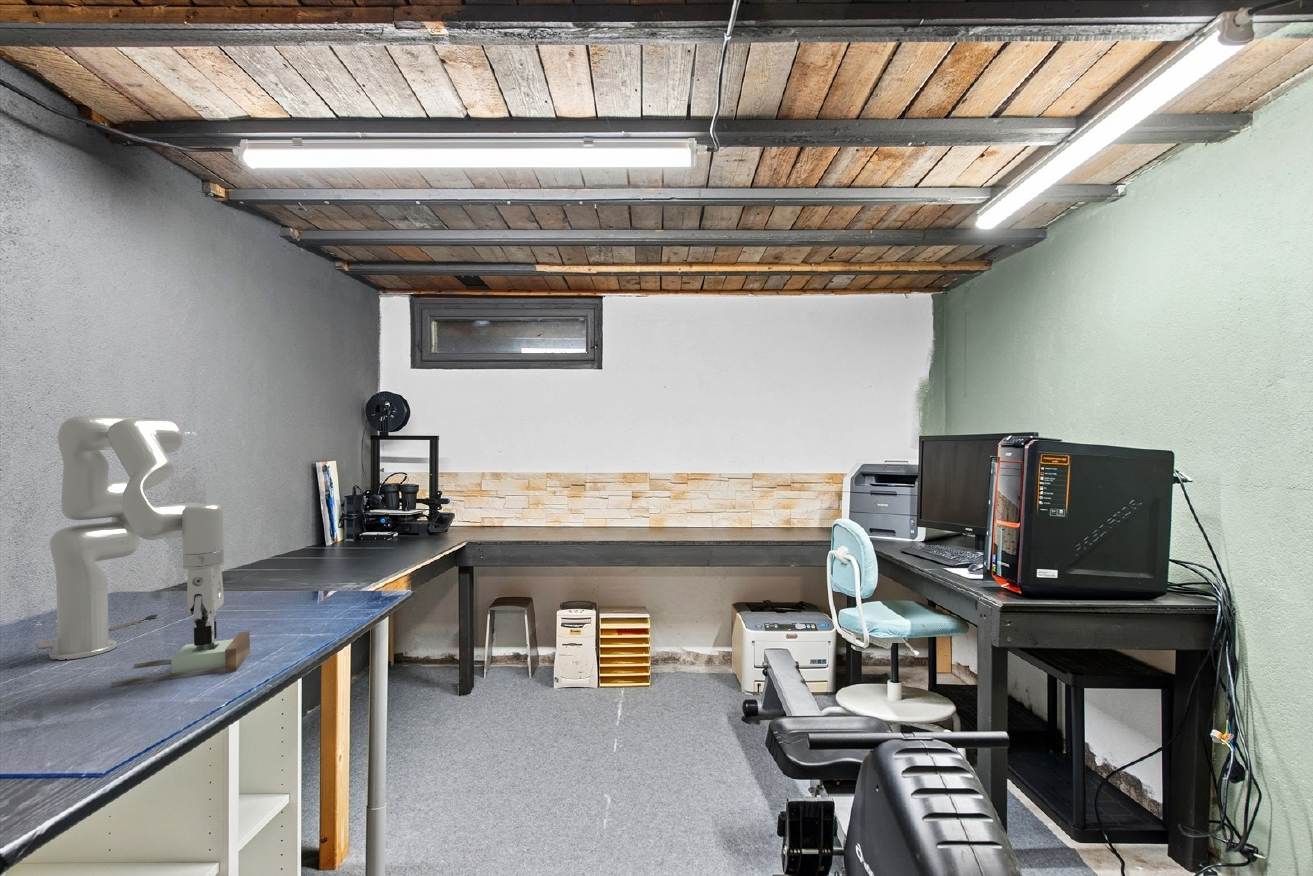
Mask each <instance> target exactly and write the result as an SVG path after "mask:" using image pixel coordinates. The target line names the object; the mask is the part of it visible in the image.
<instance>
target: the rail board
mask: <svg viewBox="0 0 1313 876" xmlns="http://www.w3.org/2000/svg"><path fill="white" fill-rule="evenodd" d="M233 639H234V640H233V641H232V642H231V643H230V644H229V646H228V647H227V648H226V649H225V667H218V668H210V669H203V670H195V671H187V672H179V673H172V672H171V673H166V674H164V673H163V674H158V675H150V676H143V677H142V676H141V677H135V678H127V679H119V680H112V681H111V688H113V687H121V686H129V685H136V684H143V683H144V684H145V683H152V682H161V681H169V680H175V679H181V678H182V679H183V678H190V677H197V676H205V675H212V674H219V673H221V674H222V673H233V672H237V671H238V670H239V668H240V667H241V665H242V664H243V663H244V661H245V660H246V659H247V657H248V656H249V655H250V653H251V642H250V631H241V632H239V633H238V634H237V635H236V636H235V638H233ZM169 664H171V665H172V657H171V658H164V659H163V658H162V659H154V660H148V661H138V662H134V667H133V668H134V669H137V668H144V667H146V668H147V667H152V666H153V667H154V666H162V665H169Z"/></svg>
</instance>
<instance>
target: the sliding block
mask: <svg viewBox="0 0 1313 876" xmlns="http://www.w3.org/2000/svg"><path fill="white" fill-rule="evenodd" d="M234 639H235V638H233V639H232V638H231V639H225V640H224V639H223V640H214V642H215V648H214V649H212V650H205V651H197V646H195V645H194V643H190V644H189V643H188V644H185V645H183V646H182V647H181V649H179V650H178V651H177V652H176V653H175V654H174V655H173V656H172V657H171V658H172V663H171V674H172V673H179V672H187V671H195V670H203V669H210V668H218V667H225V649H226V648H227V647H228V646H229V644H230V643H231V642H232V641H233V640H234Z"/></svg>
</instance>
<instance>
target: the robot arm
mask: <svg viewBox="0 0 1313 876" xmlns="http://www.w3.org/2000/svg"><path fill="white" fill-rule="evenodd" d="M183 440H184V439H183V432H182V430H181V429H180V427H179V425H178V424H176V423H175V422H174V421H172V420H171V419H167V418H166V419H165V418H156V417H147V416H135V415H134V416H132V415H130V416H129V415H106V414H105V415H101V414H100V415H99V414H97V415H96V414H92V415H91V414H90V415H88V414H87V415H76V416H71V417H69V418H68V419H66V420H65V421H64V422H63V423H62V424H61V425H60V427H59V430H58V433H57V441H58V442H57V444H58V448H59V452H60V454H61V455H60V456H61V457H62V463H63V470H62V483H61V485H62V486H61V503H60V505H61V511H62V514H63V516H64V517H65V518H66V519H69V520H72V521H90V520H99V519H107V518H111V521H108V522H107V521H106V522H100V523H99V522H95V523H86V524H78V525H77V524H76V525H71V526H68V527H64V528H61V529H59V530H57V531H56V532H55V533H54V534H53V535H52V536H51V538H50V542H49V550H50V553H51V557H52V560H53V565H54V571H55V584H56V586H55V588H56V617H57V619H56V620H57V621H56V623H57V626H56V627H57V629H56V630H57V636H56V637H53V638H51V639H49V638H48V639H40V640H37V643H36V648H37V649H38V650H46V649H51V650H52V651H50V652H49V653H48V657H49V659H50V660H54V659H58V660H57V661H62V660H63V661H65V659H67V660H75V659H76V660H77V659H81V658H87V657H91V656H97V655H101V654H104V653H106V652H110V651H112V650H114V649H115V648H116V647H117V646H118V644H117V641H116V640H114V639H110V638H109V637H110V636H109V632H108V629H109V600H108V599H109V598H108V597H109V596H108V594H109V593H108V591H109V590H108V587H109V586H108V577H107V575H106V574H105V572H104V571H103V570H102V569H101V568H100V567H99V566H98V565H97V562H100V561H106V560H107V561H108V560H113V559H119V558H125V557H129V556H131V555H133V554H134V553H135V552H136V551H137V550H138V548H139V545H140V541H141V538H142V539H144V540H147V541H156V540H157V541H158V540H163V539H172V538H178V537H181V538H182V540H181V541H182V543H181V544H182V569H183V570H187V578H186V579H187V583H186V584H187V587H186V589H187V591H186V593H187V594H186V595H187V597H186V600H187V602H186V603H187V612H188V614H190V615H193V616H192V619H193V644H194V645H195V646H199V645H207V644H211V643H212V625H210V611H211V612H214V640H216V638H217V637H218V635H217V621H216V620H217V614H216V613H217V610H218V609H219V608H221V607H222V606H223V604H224V603H225V602H224V601H225V595H224V584H223V583H224V582H223V570H222V566H223V565H224V564H225V556H224V555H225V554H224V552H225V551H224V514H223V513H224V512H223V507H222V506H221V505H219V504H217V503H201V502H183V503H169V504H159V505H158V504H157V505H152V504H151V503H150V501H149V500H148V498H147V497H146V495H145V493H144V491H146V490H148V489H150V488H153V487H155V486H156V485H157V486H158V485H159V484H161V483H162V482H164V481H166V480H167V479H168V478H169V477H171V475H172V474H173V472H174V467H175V466H174V464H173V462H172V460H171V459H170V456H169V455H168V454H169V453H170V454H171V453H175V452H177V451H178V450H179V449H180V448H181V447H182V444H183ZM101 451H114V453H115V455H116V456H117V458H118V460H119V461H120V463H121V465H122V467H123V468H124V470H125V473H126V474H127V475H128V476H129V480H128V479H110V480H109V471H110V465H109V462H108V459H107V457H105V455H104V454H103V453H102V452H101ZM204 609H206V610H207V612H202V610H204ZM202 615H206V618H205V616H202Z"/></svg>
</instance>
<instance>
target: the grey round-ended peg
mask: <svg viewBox="0 0 1313 876" xmlns="http://www.w3.org/2000/svg"><path fill="white" fill-rule="evenodd" d="M202 612H207V610H206V609H204V610H202ZM202 616H205V618H206V615H202ZM210 625H212V643H211V644H207V645H199V646H197V651H205V650H212V649H214V648H215V642H214V641H215V639H214V612H211V611H210Z"/></svg>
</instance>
